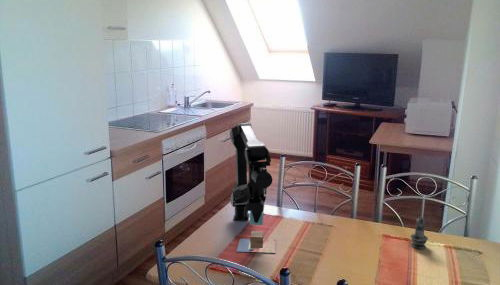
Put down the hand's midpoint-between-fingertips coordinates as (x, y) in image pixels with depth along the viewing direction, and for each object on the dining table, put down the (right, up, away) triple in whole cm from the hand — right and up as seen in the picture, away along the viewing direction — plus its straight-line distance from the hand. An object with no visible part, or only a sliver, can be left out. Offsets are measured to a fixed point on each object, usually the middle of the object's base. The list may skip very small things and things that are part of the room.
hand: (256, 219), depth 151 cm
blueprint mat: (0, -10, +3) cm, 11 cm away
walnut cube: (0, -10, +2) cm, 10 cm away
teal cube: (0, -1, 0) cm, 1 cm away
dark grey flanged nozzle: (+59, -10, +1) cm, 60 cm away
